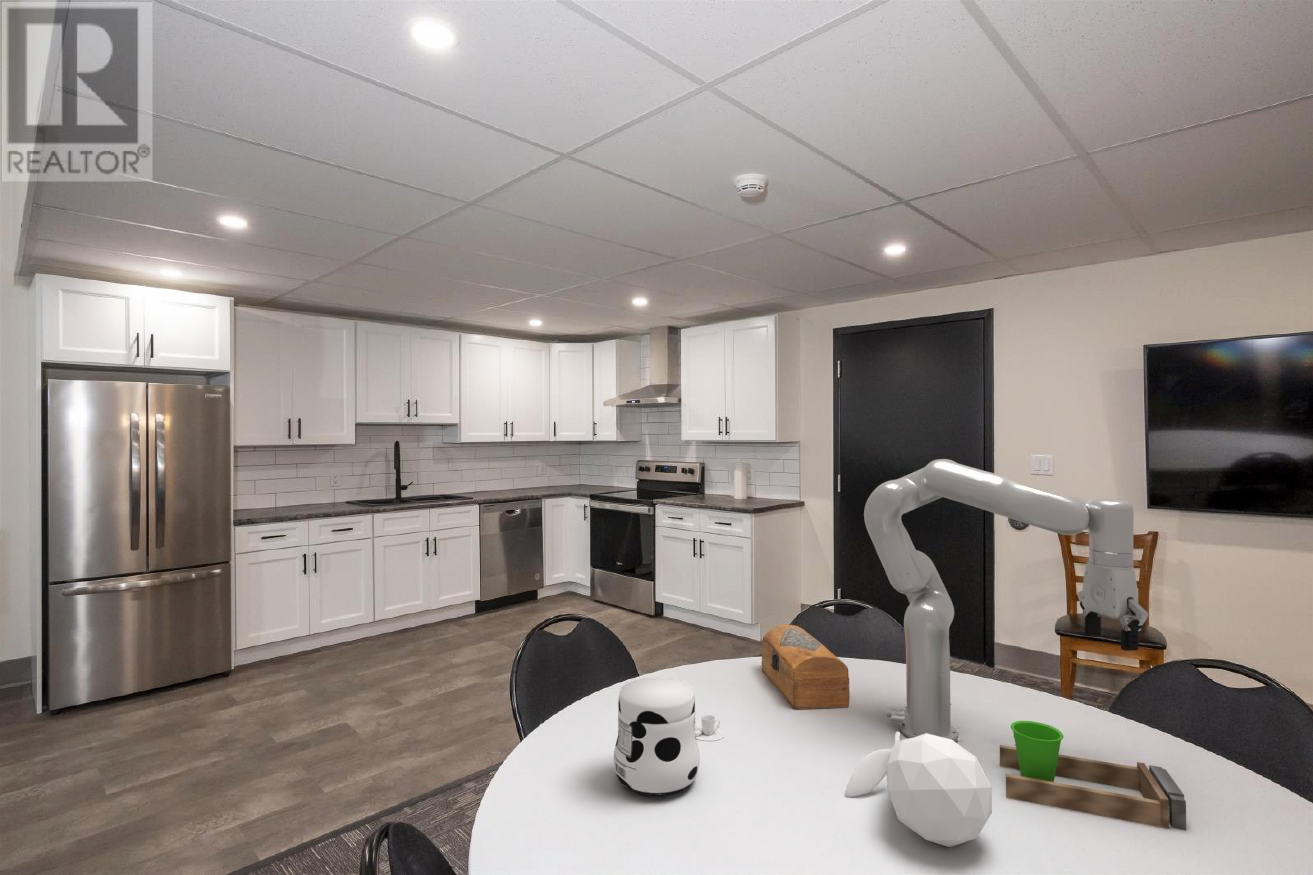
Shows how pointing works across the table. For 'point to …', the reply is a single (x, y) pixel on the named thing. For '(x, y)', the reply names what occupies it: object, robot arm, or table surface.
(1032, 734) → the cup
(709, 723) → the teacup and saucer
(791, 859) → the table surface
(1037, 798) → the bay
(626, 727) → the milk container
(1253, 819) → the table surface
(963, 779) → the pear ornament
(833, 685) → the wooden box
